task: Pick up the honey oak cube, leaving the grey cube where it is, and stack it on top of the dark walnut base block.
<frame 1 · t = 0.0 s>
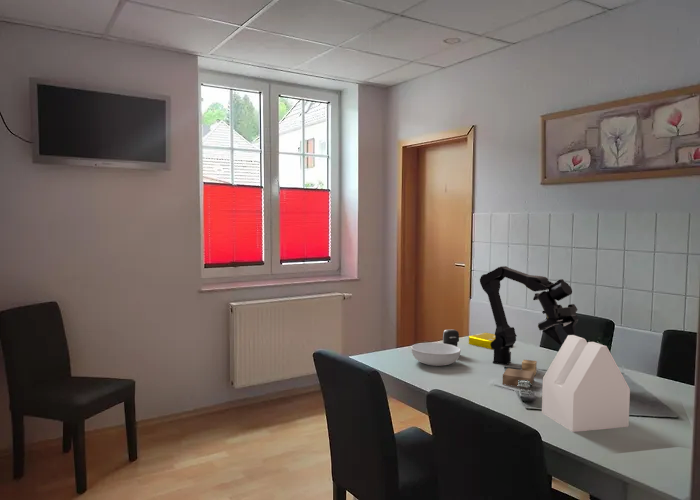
hand: (568, 342, 201), 15 cm above the table, tool tilted 35°, fingers open, 9 cm apart
oak cube: (528, 373, 211), on the table
battery charger: (450, 355, 240), on the table
element tile: (488, 345, 261), on the table
white slotted house block: (583, 420, 163), on the table
walnut base: (518, 383, 199), on the table
grey cube: (563, 387, 194), on the table
serving bowl: (435, 363, 225), on the table
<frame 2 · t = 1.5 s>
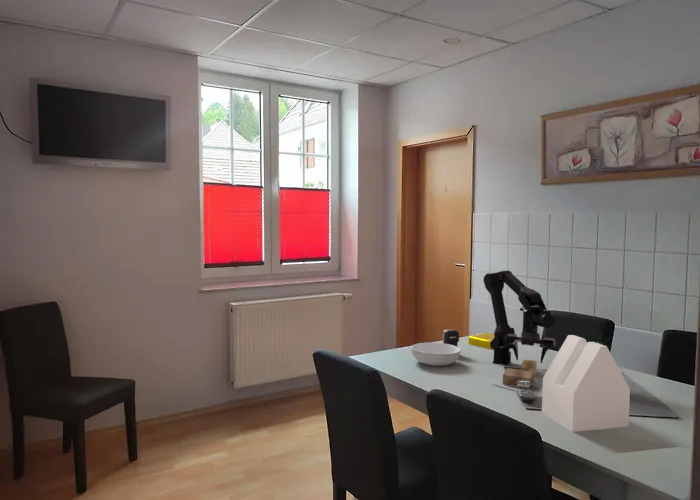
hand: (529, 361, 211), 5 cm above the table, tool pointing down, fingers open, 9 cm apart
nothing on the table moved.
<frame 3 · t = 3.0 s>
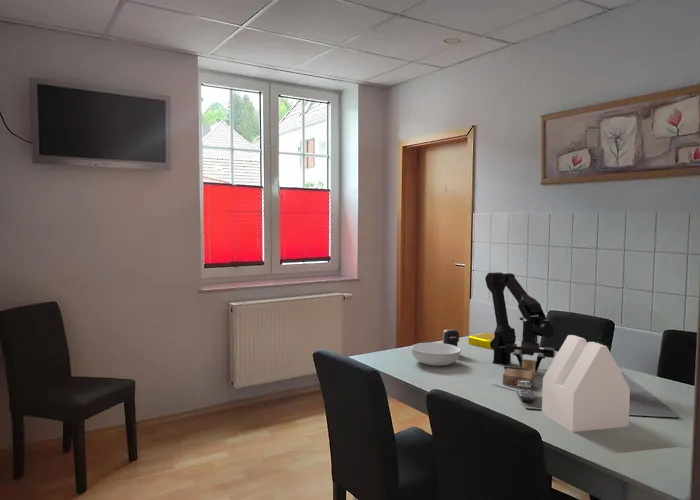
hand: (529, 371, 211), 1 cm above the table, tool pointing down, fingers closed on oak cube, 5 cm apart
oak cube: (528, 373, 211), on the table, touching gripper
everything else where it was.
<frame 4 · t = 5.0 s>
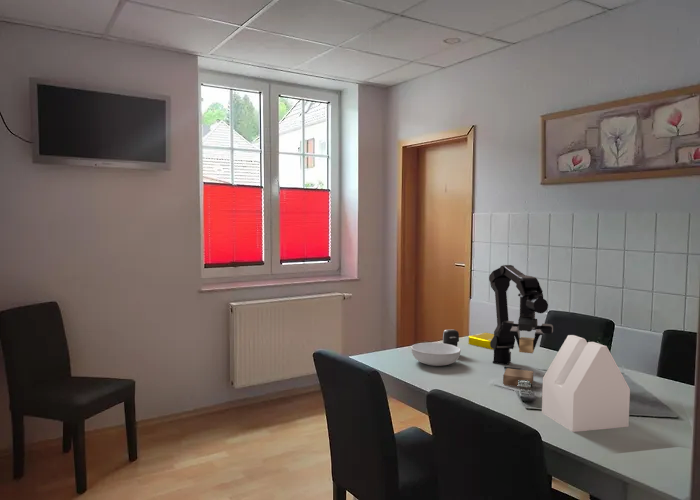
hand: (526, 348, 206), 11 cm above the table, tool pointing down, fingers closed on oak cube, 5 cm apart
oak cube: (526, 351, 206), point 10 cm above the table, touching gripper
everything else where it was.
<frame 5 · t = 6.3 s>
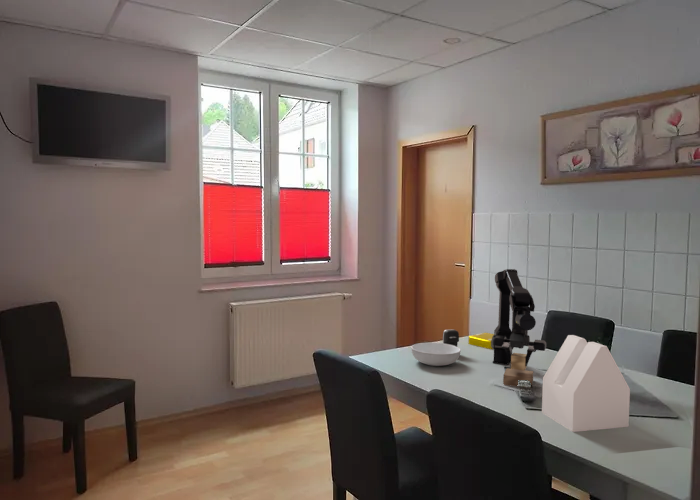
hand: (518, 365, 199), 7 cm above the table, tool pointing down, fingers closed on oak cube, 5 cm apart
oak cube: (518, 367, 199), point 6 cm above the table, touching gripper
everything else where it was.
when the fingers open (6 cm above the table, at t = 7.2 s): oak cube drops 1 cm, resting on walnut base.
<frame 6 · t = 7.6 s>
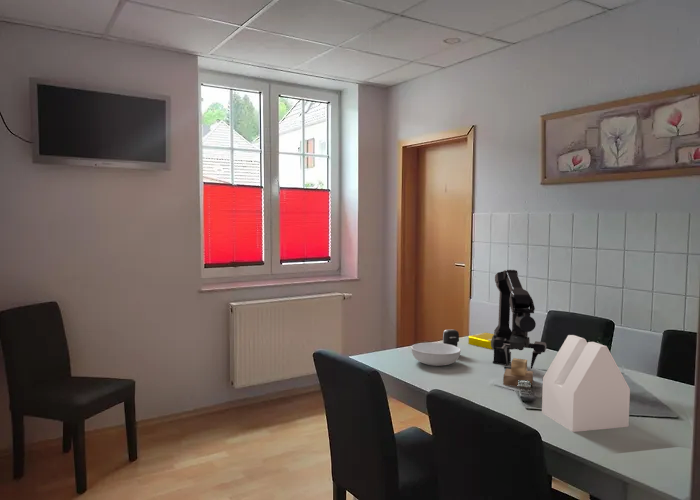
hand: (518, 366, 199), 6 cm above the table, tool pointing down, fingers open, 9 cm apart
oak cube: (519, 373, 199), point 4 cm above the table, touching walnut base
walnut base: (518, 383, 199), on the table, touching oak cube
everything else where it was.
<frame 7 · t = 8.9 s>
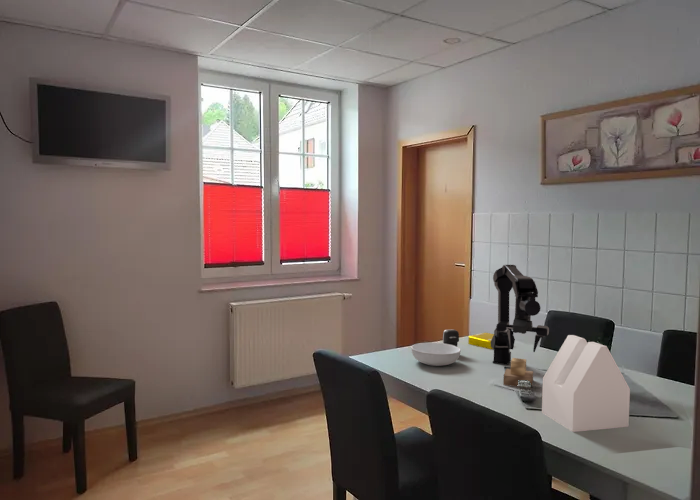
hand: (521, 350, 202), 12 cm above the table, tool pointing down, fingers open, 9 cm apart
nothing on the table moved.
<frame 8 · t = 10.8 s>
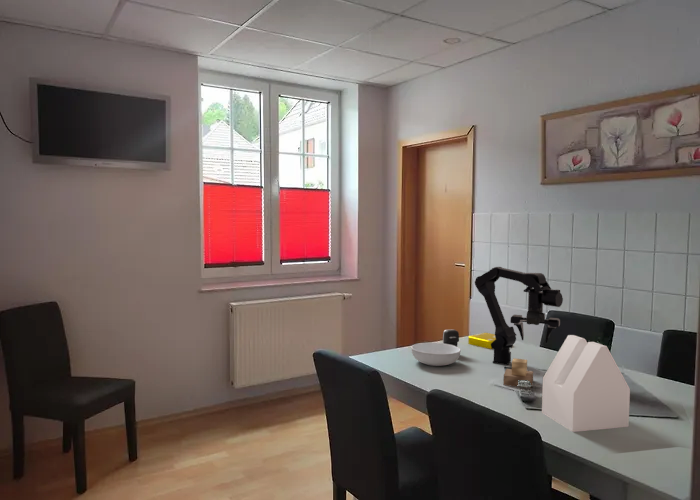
hand: (534, 341, 215), 12 cm above the table, tool pointing down, fingers open, 9 cm apart
oak cube: (519, 373, 199), point 4 cm above the table
walnut base: (518, 383, 199), on the table
everything else where it was.
at the end: oak cube 0.3 cm off-centre on the walnut base, point 4.0 cm above the walnut base's base; oak cube tilted 0°; the gripper is holding nothing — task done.
